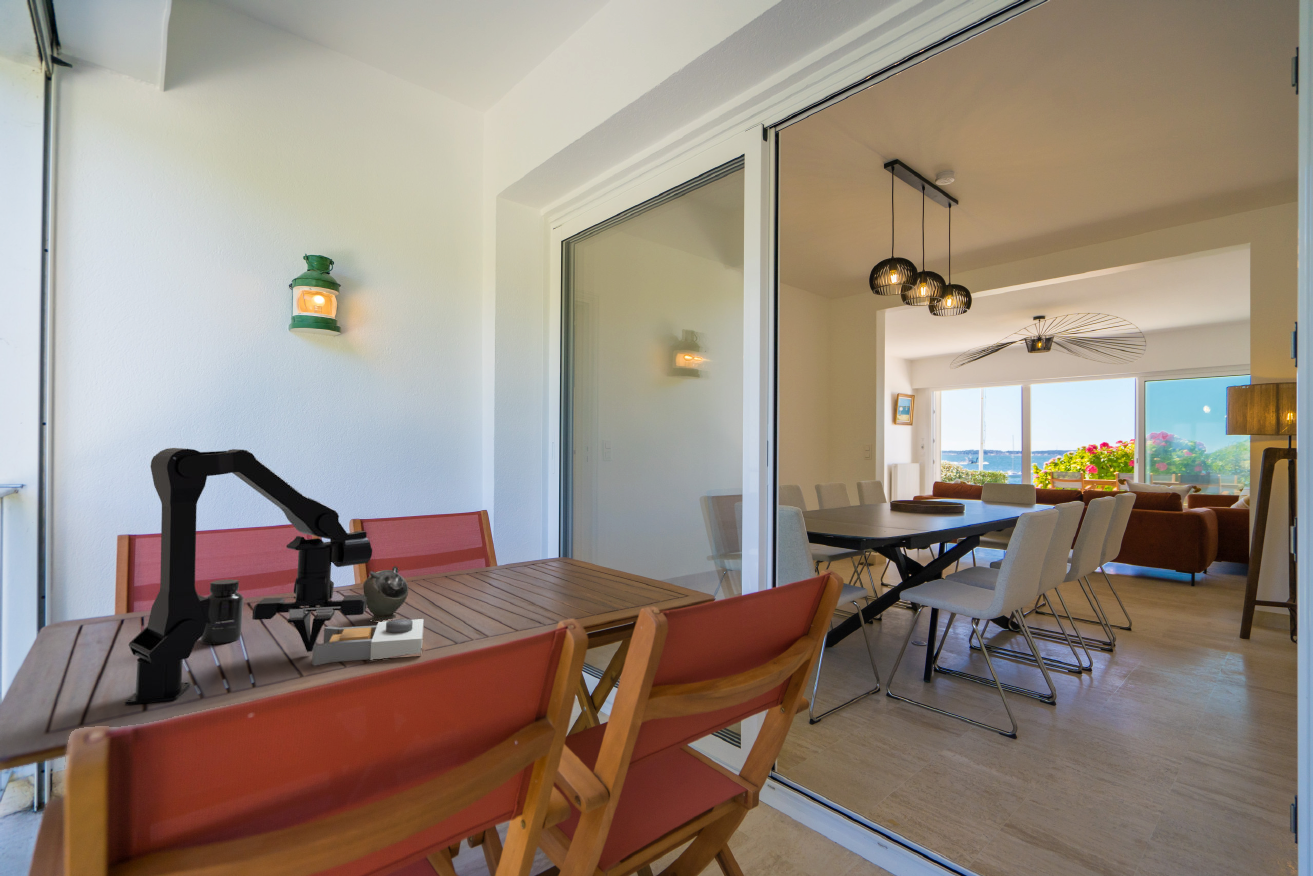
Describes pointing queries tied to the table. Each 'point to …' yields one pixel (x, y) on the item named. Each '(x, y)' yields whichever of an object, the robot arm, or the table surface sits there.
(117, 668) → the table surface
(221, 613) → the supplement bottle
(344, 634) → the orange stepped block
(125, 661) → the table surface
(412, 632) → the forked block with knob
